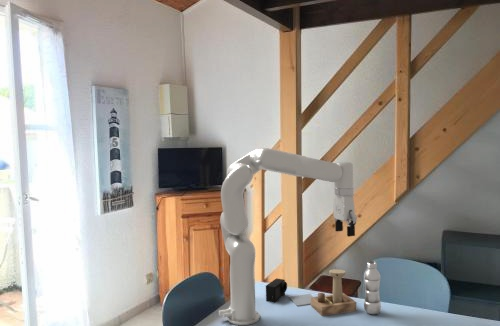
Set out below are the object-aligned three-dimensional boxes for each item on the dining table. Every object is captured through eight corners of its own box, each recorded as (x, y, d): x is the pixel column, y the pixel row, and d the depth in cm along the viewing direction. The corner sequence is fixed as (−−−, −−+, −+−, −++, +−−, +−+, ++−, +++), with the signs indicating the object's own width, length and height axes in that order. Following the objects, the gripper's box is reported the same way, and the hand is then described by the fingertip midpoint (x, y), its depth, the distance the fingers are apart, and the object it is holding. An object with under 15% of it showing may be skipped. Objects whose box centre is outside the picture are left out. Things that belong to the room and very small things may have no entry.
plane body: (321, 316, 156) (321, 299, 156) (310, 305, 166) (310, 290, 166) (356, 310, 160) (356, 294, 160) (343, 301, 170) (343, 286, 170)
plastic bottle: (363, 315, 156) (362, 264, 155) (364, 308, 162) (364, 259, 161) (380, 317, 154) (380, 265, 153) (381, 310, 160) (380, 260, 159)
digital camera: (277, 303, 169) (277, 287, 169) (266, 301, 172) (265, 285, 172) (287, 295, 178) (287, 279, 178) (276, 293, 181) (276, 278, 181)
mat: (297, 306, 166) (297, 305, 166) (288, 297, 176) (288, 296, 176) (319, 303, 169) (319, 302, 169) (309, 294, 178) (309, 293, 178)
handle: (345, 310, 161) (345, 273, 160) (329, 309, 162) (328, 272, 161) (345, 305, 165) (345, 269, 165) (329, 304, 167) (329, 269, 166)
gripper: (326, 190, 172) (327, 230, 173) (346, 195, 155) (347, 239, 156) (341, 189, 174) (342, 228, 175) (363, 193, 157) (364, 237, 158)
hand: (344, 233), depth 165 cm, fingers open, 9 cm apart
